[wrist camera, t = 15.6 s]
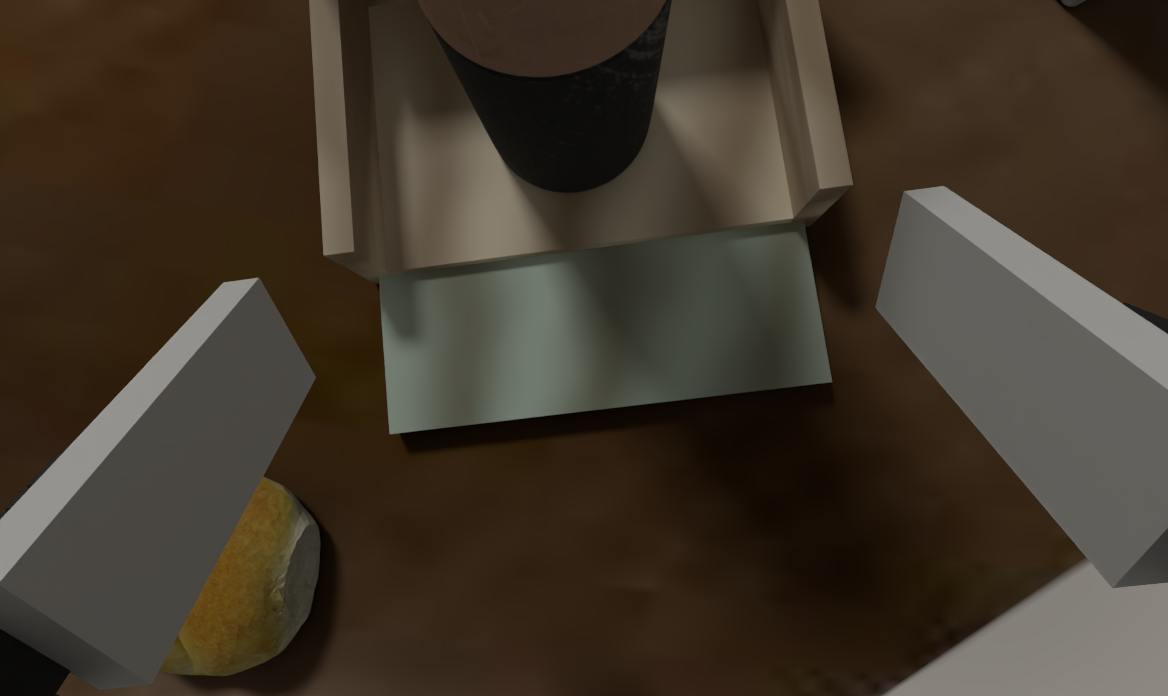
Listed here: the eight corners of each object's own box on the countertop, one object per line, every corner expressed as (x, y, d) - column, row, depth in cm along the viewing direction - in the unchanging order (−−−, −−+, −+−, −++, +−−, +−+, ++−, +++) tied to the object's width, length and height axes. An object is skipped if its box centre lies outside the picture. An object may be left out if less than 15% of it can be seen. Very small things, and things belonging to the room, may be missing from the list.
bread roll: (149, 463, 25) (61, 472, 21) (335, 477, 24) (280, 489, 21) (119, 651, 24) (21, 697, 20) (312, 671, 23) (250, 723, 20)
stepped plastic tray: (385, 434, 24) (252, 446, 15) (356, 11, 27) (228, -188, 18) (836, 381, 23) (973, 361, 14) (760, -52, 26) (835, -293, 17)
